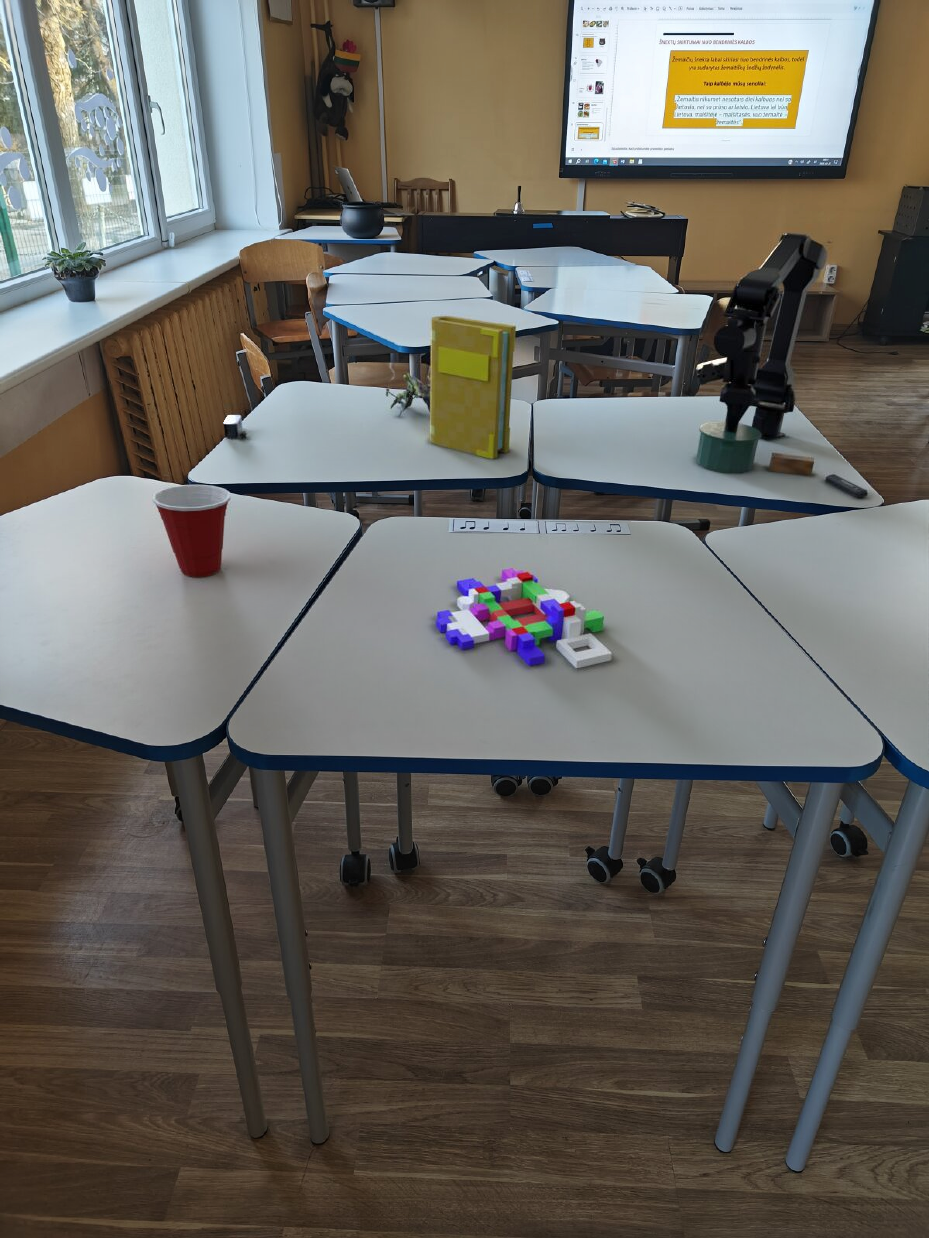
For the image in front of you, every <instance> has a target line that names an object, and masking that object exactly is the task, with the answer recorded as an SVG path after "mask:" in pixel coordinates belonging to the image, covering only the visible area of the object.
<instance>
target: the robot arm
mask: <svg viewBox="0 0 929 1238" xmlns="http://www.w3.org/2000/svg"><path fill="white" fill-rule="evenodd" d="M827 258H828V252H827V249H826V248H825V246H824V244H822V243H820V242H818V241H816V240H813V239H812V238H811V236H810V235H807V234H805V233H793V232H786V233H783V234H781V237H780V239H779V241H778V244H777V245H776V247H775V248H774V249H773V250H772V252H771V253H770V255H769V256H768V257H767V258H766V259H765V261H764V262H763V264H762V265H761V266H760V267H759V268H758V269H755V270H751V271H748V272H747V273H746V274H745V275H744V276H742V277H741V278H740V279H739V281H738V282H737V283H736V284H735V285H734V288H733V290H732V293H731V295H730V298H729V300H728V303H727V305H726V307H725V310H724V313H723V317H724V318H728V319H727V323H726V325H723V326H721V327H720V328H719V329H718V330H717V331H716V333H715V335H714V337H713V346H714V349H715V351H716V353H717V354H718V355H720V356H721V357H723V358H717V359H713V360H710V361H709V360H708V361H706V362H702V363H698V364H696V368H695V371H696V378H697V381H698V385H700V386H702V385H706V384H707V383H712V382H715V381H719V380H722V383H726V384H724V385H722V386H721V390H720V394H719V395H720V396H719V402H720V403H722V404H723V403H724V404H725V405H726V415H727V424H728V431H733V430H734V429H735V427H736V426H737V424H738V423H740V422H741V420H742V418H743V417H744V415H745V414H746V412H747V411H748V409H749V408H750V407H754V408H755V409H754V414H753V418H752V421H751V422H752V423H751V427H754V428H756V429H758V430H759V431H760V432H761V438H760V439H763V440H765V441H772V440H775V439H779V438H783V437H786V434H787V433H785V432H783V431H782V426H783V422H784V417H785V414H788V413H793V412H794V409H795V406H796V391H795V386H794V381H795V380H794V379H795V374H794V371H793V367H792V365H791V359H792V356H793V350H794V347H795V342H796V339H797V335H798V334H797V333H798V330H799V326H800V322H801V319H802V318H801V317H802V315H803V314H802V313H803V309H804V305H805V301H806V298H807V293H808V291H809V289H810V288H811V287H812V286H813V285H814V284H815V282H817V280H818V279H819V278H820V274H821V272H822V270H823V269H824V268H825V265H826V262H827ZM781 284H782V287H783V291H782V295H781V288H780V285H781ZM779 302H780V304H779ZM778 304H779V305H778ZM778 306H779V309H778V312H777V317H776V322H775V326H774V330H773V335H772V339H771V343H770V347H769V351H768V356H767V360H766V361H765V363H763V364H762V366H761V367H760V368H759V364H760V361H761V354H762V348H763V344H764V339H765V333H766V329H767V322H768V321H769V318H772V317H773V315H774V313H775V311H776V308H777V307H778Z"/></svg>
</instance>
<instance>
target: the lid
mask: <svg viewBox="0 0 929 1238" xmlns="http://www.w3.org/2000/svg"><path fill="white" fill-rule="evenodd" d="M698 429H699V430H698V431H699V433H700V434H701V433H702V434H703V435H705V436H707V437H709V438H712V439H716V440H720V441H726V442H737V443H744V442H753V441H756V440H758V441H759V440H760V439H762V438H761V432H760V431H759V430H758V429H756V428H754V427H752V425H748V424H744V423H741V422H739V423H738V424H737V426H736V427H735V429H734V430H733V431H728V424H727V414H726V415H725V421H709V422H704V423H702V424H701V425H700V426H699V428H698Z"/></svg>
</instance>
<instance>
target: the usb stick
mask: <svg viewBox="0 0 929 1238" xmlns="http://www.w3.org/2000/svg"><path fill="white" fill-rule="evenodd" d="M825 482H827V483H829V484H830V485H832V486H834V487H836V488H838V489H840V490H842V491H844V492H846V493H848V494H849V495H852V496H854V497H856V498H859V499H861V498H866V497H867V496H868V494H869V492H868V490H867V489H865V488H863V487H861V486H859V485H857V484H855V483H853V482H851V481H849V480H848V479H845V478H843V477H841V476H839V475H837V474H835V473H832V474H829V475H827V476H826V477H825Z"/></svg>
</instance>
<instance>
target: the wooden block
mask: <svg viewBox="0 0 929 1238" xmlns="http://www.w3.org/2000/svg"><path fill="white" fill-rule="evenodd" d="M814 465H815V458H814V457H813V456H812V457H810V456H802V455H794V454H786V453H779V452H778V453H777V452H771V456H770V460H769V465H768V471H769V472H773V473H774V472H775V473H782V474H791V475H799V476H807V477H811V476H812V474H813V473H812V472H813V469H814Z"/></svg>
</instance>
